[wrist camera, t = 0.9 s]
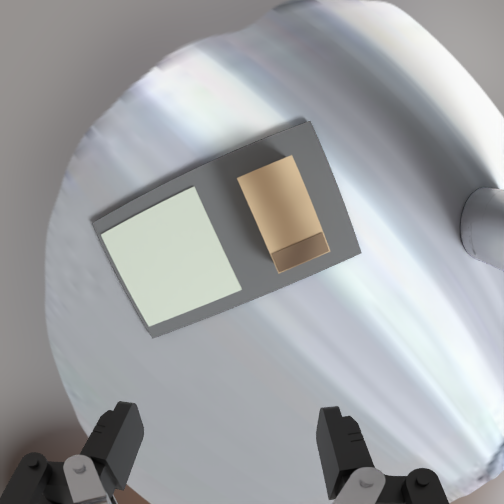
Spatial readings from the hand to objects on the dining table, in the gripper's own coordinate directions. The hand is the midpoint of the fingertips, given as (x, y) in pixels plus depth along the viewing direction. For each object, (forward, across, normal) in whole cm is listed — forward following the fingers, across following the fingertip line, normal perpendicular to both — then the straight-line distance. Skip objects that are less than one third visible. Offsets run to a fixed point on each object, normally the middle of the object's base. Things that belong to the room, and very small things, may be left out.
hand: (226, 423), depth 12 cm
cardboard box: (+19, -4, -7) cm, 21 cm away
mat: (+20, +2, -4) cm, 20 cm away
